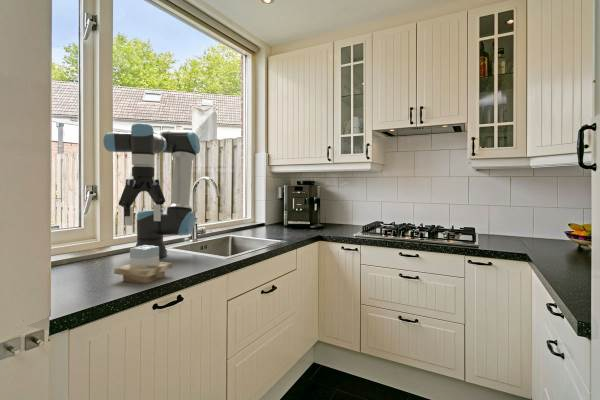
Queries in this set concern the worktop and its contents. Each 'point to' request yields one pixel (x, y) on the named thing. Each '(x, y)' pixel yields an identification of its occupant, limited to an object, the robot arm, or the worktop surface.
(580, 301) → the worktop surface
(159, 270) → the stand
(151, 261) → the housing
